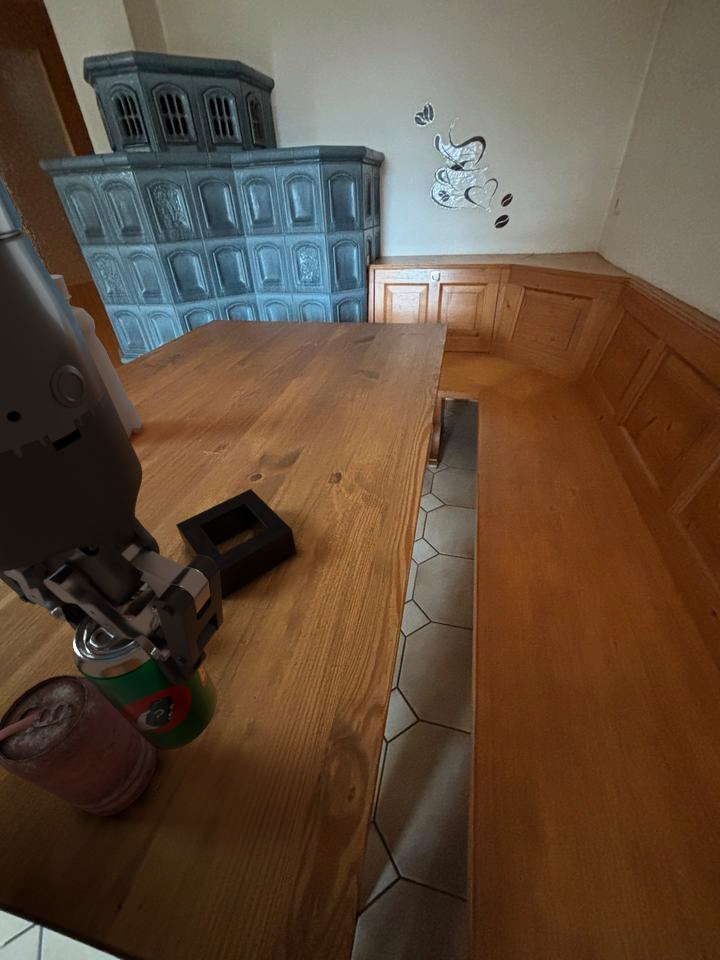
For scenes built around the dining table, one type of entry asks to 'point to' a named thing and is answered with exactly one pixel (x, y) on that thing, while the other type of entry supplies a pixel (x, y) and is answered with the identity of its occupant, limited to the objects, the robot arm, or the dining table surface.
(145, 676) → the soda can
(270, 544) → the holder
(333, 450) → the dining table surface
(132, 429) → the bottle
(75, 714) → the can
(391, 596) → the dining table surface
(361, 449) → the dining table surface
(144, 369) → the dining table surface
